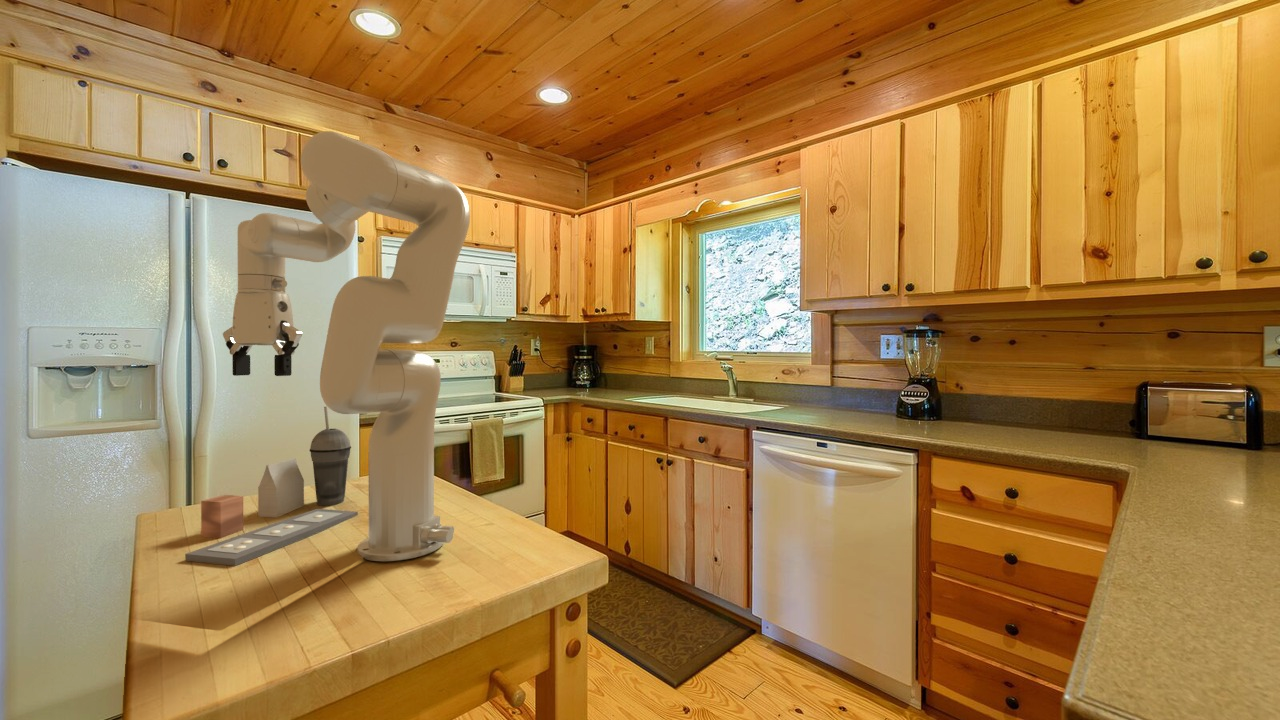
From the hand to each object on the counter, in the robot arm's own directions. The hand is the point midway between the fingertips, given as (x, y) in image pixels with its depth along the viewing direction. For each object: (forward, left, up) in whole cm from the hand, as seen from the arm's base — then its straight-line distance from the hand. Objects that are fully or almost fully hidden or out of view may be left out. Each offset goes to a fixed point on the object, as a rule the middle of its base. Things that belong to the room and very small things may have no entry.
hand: (262, 375), depth 103 cm
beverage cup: (-10, -6, -26) cm, 29 cm away
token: (-5, +12, -26) cm, 29 cm away
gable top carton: (-5, +1, -27) cm, 27 cm away
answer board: (-16, +11, -26) cm, 33 cm away
